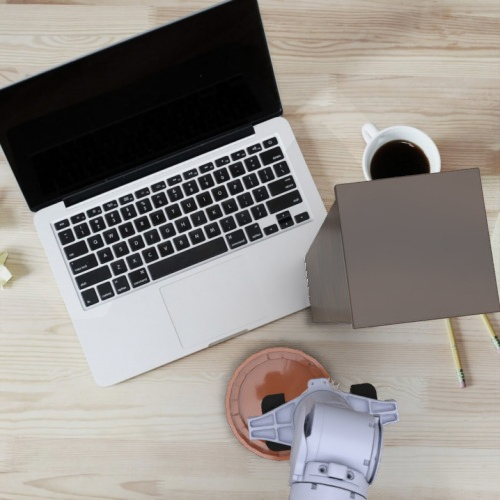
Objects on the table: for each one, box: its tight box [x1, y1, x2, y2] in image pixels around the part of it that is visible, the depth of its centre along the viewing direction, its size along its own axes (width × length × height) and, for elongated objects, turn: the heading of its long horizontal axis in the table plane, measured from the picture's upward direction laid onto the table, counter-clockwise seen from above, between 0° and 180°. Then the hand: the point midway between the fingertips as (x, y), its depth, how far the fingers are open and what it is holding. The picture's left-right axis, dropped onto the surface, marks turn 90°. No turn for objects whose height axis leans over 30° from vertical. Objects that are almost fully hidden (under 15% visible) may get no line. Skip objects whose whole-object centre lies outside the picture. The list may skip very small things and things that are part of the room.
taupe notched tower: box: [304, 166, 500, 330], centre depth 65 cm, size 9×9×47 cm
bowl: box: [224, 345, 333, 462], centre depth 85 cm, size 13×13×4 cm
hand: (317, 408), depth 78 cm, fingers closed on toy creature, 6 cm apart
